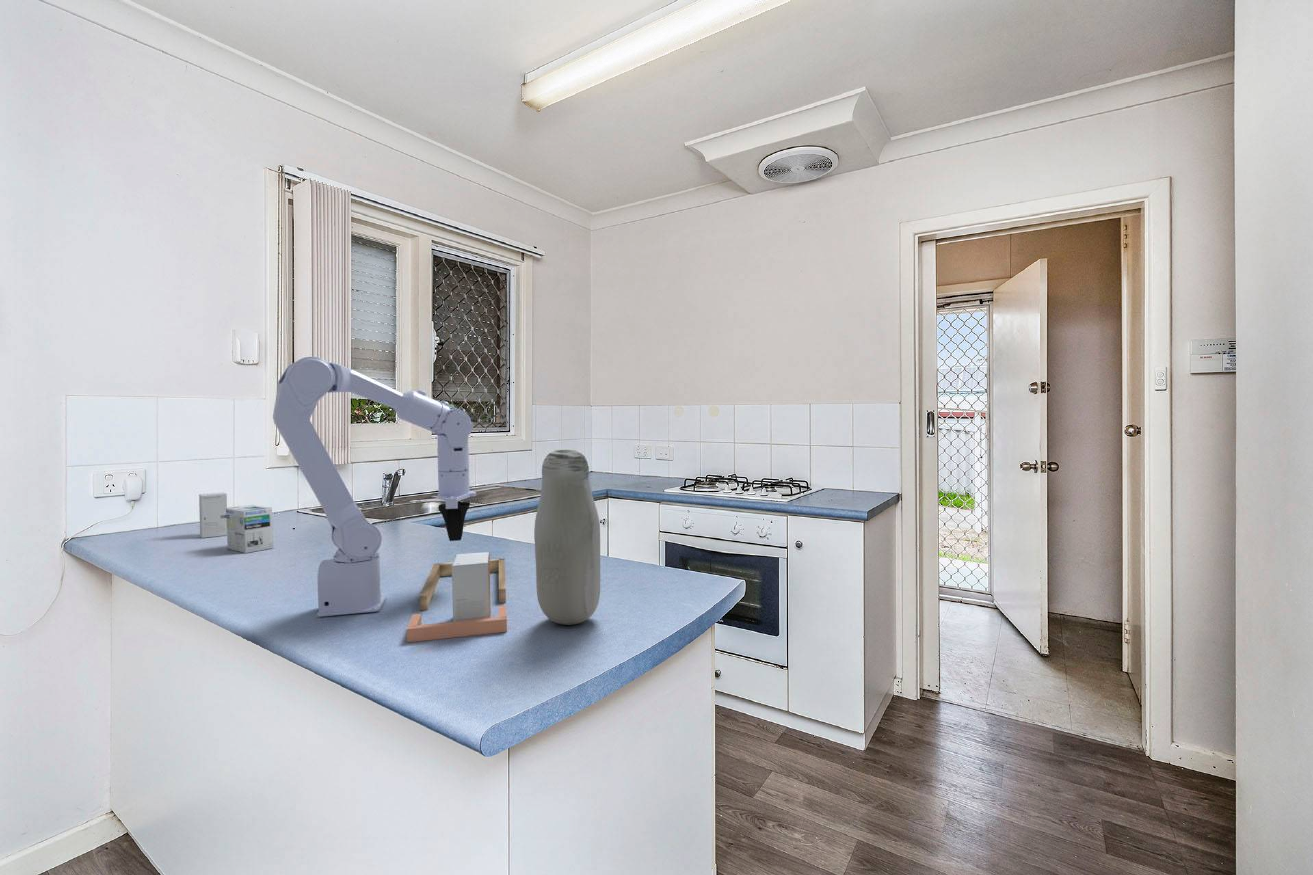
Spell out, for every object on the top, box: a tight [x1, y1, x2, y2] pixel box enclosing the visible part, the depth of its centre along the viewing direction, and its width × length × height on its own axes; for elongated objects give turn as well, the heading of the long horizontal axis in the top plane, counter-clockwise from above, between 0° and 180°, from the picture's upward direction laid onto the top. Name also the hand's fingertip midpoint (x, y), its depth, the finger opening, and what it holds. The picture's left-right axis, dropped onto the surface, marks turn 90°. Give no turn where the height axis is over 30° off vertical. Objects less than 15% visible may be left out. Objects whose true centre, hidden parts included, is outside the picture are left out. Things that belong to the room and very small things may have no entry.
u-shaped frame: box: [419, 558, 507, 611], centre depth 113 cm, size 14×23×2 cm, turn 15°
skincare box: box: [198, 492, 228, 539], centre depth 165 cm, size 6×4×12 cm
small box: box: [451, 551, 492, 622], centre depth 94 cm, size 8×6×10 cm
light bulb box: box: [226, 504, 275, 554], centre depth 149 cm, size 11×7×11 cm, turn 58°
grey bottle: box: [533, 449, 601, 626], centre depth 93 cm, size 10×10×28 cm
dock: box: [406, 605, 508, 643], centre depth 91 cm, size 14×7×2 cm, turn 105°
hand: (455, 540), depth 113 cm, fingers closed
